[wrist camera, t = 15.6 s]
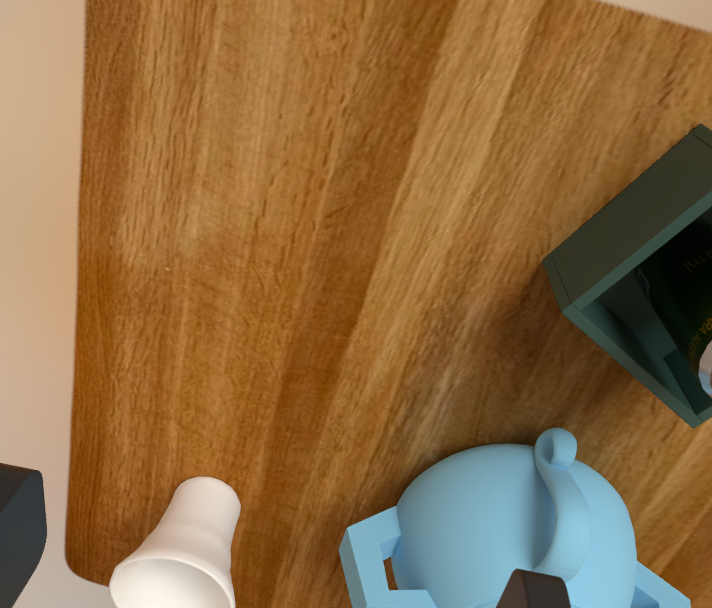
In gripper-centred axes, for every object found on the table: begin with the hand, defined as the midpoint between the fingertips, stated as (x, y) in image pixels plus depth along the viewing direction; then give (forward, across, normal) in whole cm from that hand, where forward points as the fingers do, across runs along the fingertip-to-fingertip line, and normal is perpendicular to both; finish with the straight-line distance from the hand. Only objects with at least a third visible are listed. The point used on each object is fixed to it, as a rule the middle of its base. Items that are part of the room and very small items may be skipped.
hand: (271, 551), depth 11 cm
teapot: (+30, -16, +29) cm, 45 cm away
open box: (+30, -20, +4) cm, 36 cm away
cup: (+30, +7, +33) cm, 45 cm away
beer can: (+30, -19, +4) cm, 36 cm away
